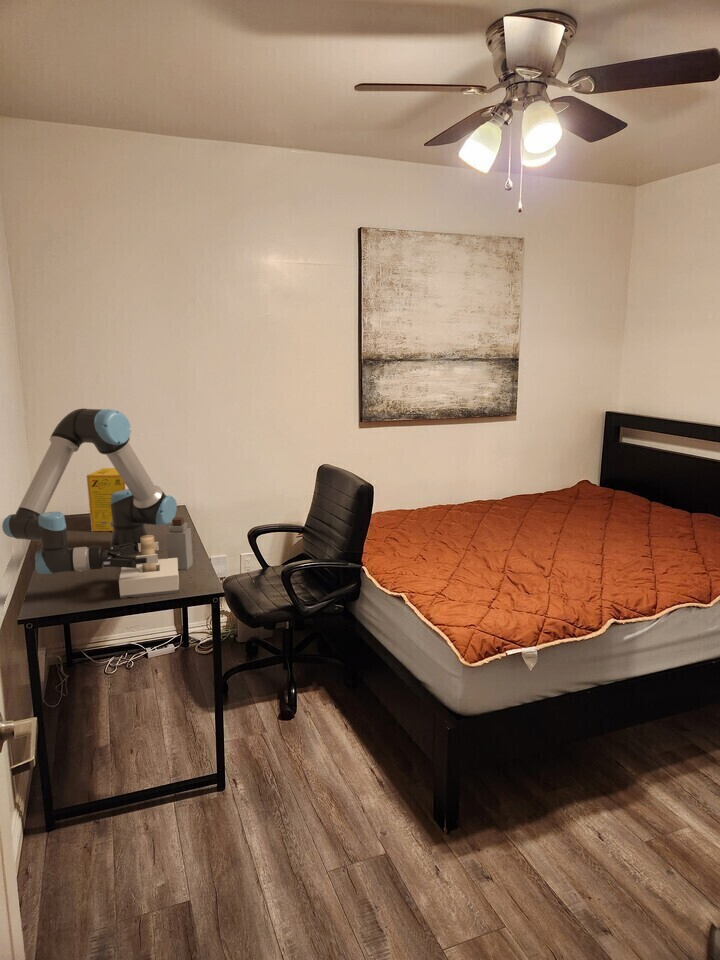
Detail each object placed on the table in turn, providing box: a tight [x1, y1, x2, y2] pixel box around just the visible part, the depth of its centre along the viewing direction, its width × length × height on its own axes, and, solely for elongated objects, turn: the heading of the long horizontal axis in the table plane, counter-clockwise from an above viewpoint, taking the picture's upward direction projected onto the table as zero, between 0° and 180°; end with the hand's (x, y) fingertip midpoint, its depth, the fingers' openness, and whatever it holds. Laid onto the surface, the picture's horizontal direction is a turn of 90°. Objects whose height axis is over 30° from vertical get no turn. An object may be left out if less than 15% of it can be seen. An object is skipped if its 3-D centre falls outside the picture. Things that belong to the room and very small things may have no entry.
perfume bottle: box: [165, 516, 194, 571], centre depth 230 cm, size 7×7×18 cm
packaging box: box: [85, 467, 128, 532], centre depth 280 cm, size 16×16×25 cm
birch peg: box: [140, 534, 157, 573], centre depth 211 cm, size 4×4×16 cm
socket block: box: [118, 558, 180, 599], centre depth 212 cm, size 18×18×6 cm
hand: (158, 552), depth 211 cm, fingers open, 13 cm apart
